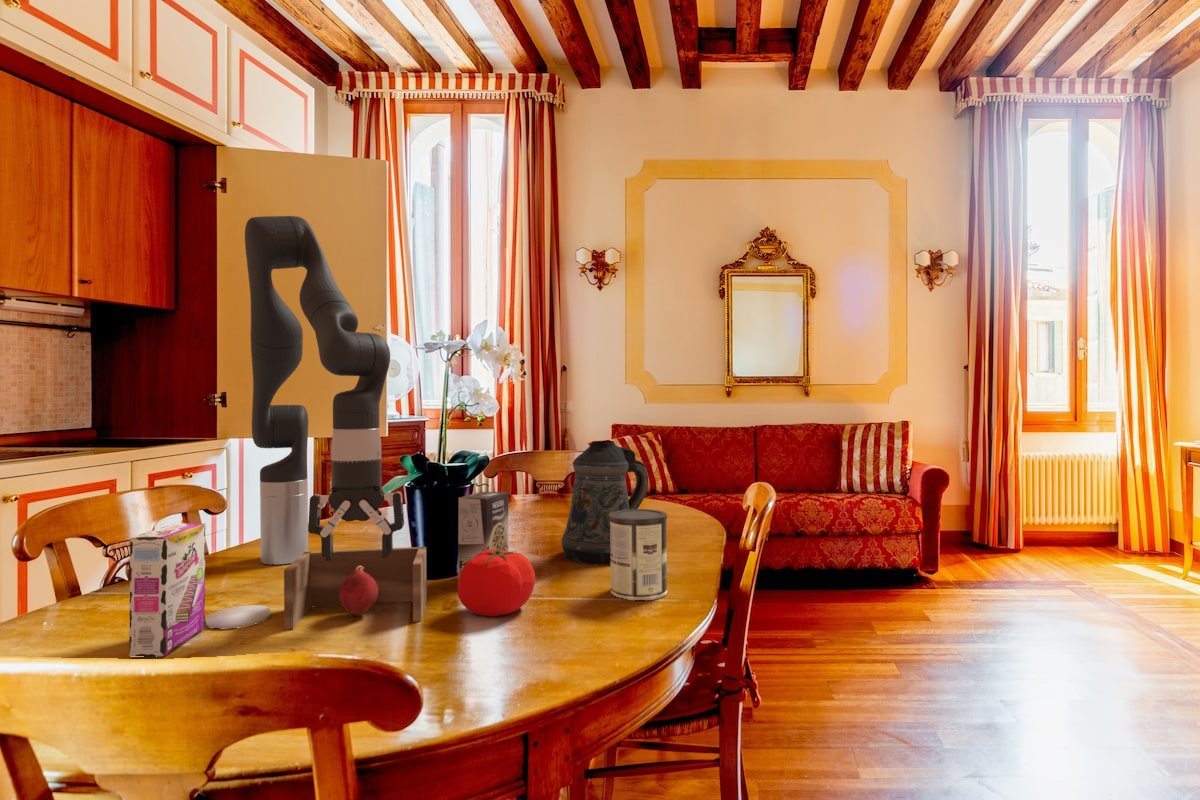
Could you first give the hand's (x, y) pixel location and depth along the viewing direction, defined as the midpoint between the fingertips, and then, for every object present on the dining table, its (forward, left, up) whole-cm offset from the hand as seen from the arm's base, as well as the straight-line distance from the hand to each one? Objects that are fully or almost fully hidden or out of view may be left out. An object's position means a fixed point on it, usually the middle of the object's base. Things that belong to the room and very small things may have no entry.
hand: (357, 558), depth 107 cm
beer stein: (-33, +46, -10) cm, 58 cm away
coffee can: (-4, +47, -10) cm, 48 cm away
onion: (0, 0, -10) cm, 10 cm away
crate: (-2, 0, -9) cm, 9 cm away
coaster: (-2, -18, -9) cm, 21 cm away
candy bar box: (+7, -25, -10) cm, 27 cm away
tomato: (+2, +22, -10) cm, 24 cm away
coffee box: (-19, +20, -10) cm, 29 cm away
